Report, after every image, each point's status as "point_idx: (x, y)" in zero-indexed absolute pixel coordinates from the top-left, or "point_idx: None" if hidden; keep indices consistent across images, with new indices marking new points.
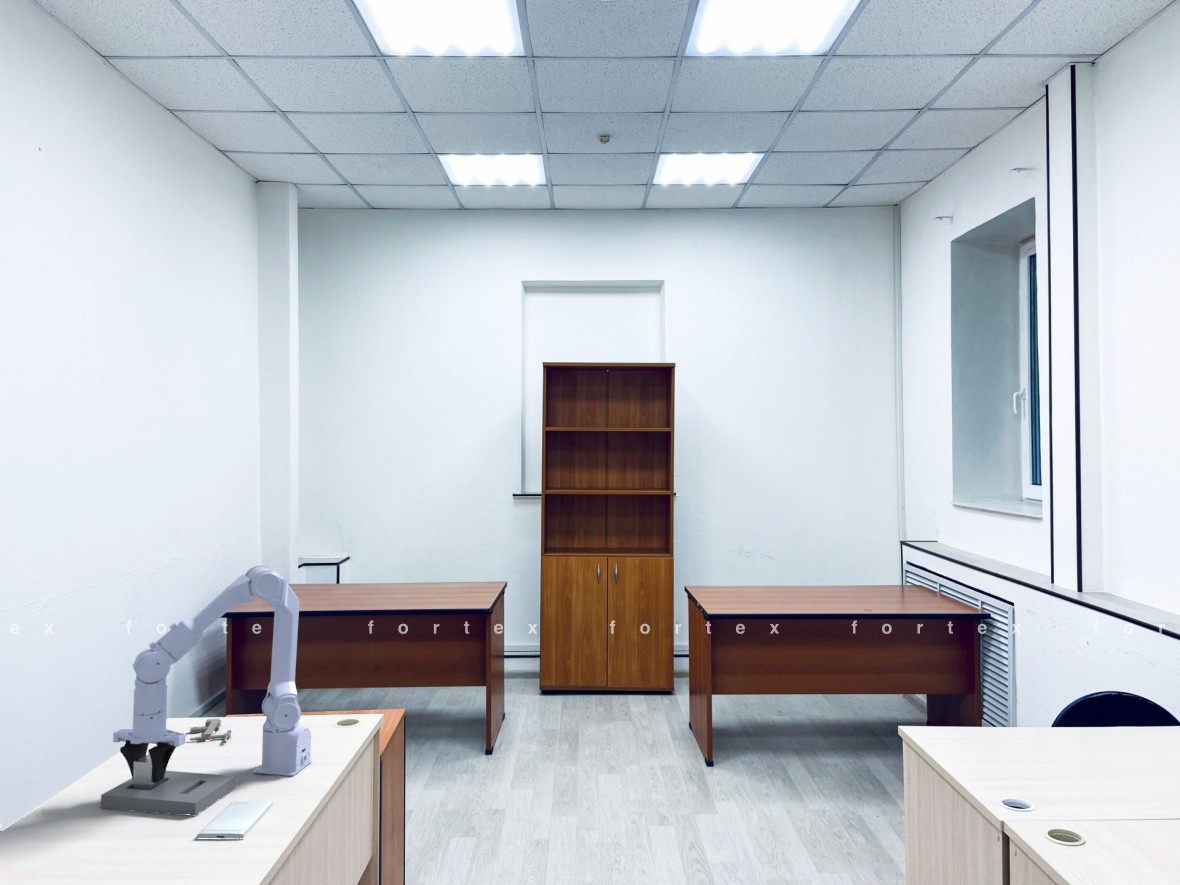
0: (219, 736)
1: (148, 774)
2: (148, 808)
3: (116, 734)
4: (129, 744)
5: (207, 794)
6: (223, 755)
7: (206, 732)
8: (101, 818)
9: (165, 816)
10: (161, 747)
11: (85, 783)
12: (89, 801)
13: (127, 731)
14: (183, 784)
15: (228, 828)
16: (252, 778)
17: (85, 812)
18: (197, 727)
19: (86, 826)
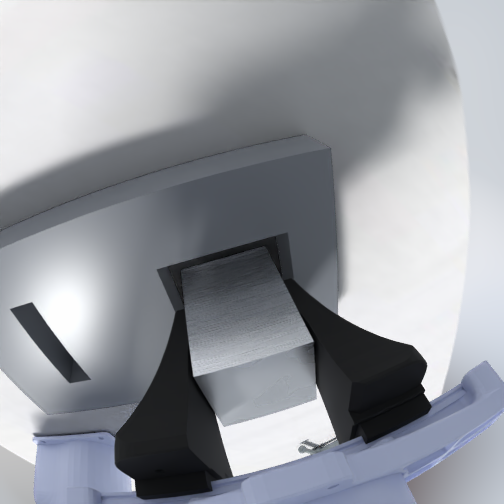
0: (327, 448)
1: (202, 322)
2: (83, 200)
3: (497, 402)
4: (396, 405)
5: None
6: (259, 437)
7: None
8: (217, 72)
9: (9, 208)
10: (149, 473)
11: (461, 235)
12: (386, 160)
13: (455, 447)
14: (100, 347)
15: None
16: (82, 419)
17: (330, 89)
18: None
19: (209, 4)
